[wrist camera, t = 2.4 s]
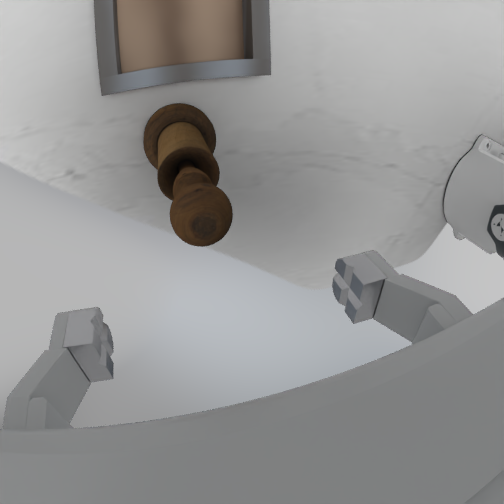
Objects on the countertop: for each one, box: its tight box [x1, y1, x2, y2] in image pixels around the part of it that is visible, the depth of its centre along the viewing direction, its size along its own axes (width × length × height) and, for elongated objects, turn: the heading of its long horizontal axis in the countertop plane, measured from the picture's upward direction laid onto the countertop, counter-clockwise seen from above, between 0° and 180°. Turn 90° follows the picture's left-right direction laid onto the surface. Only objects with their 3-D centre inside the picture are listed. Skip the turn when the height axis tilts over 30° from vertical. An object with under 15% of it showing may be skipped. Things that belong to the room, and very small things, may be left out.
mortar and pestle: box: [144, 103, 233, 246], centre depth 21 cm, size 7×6×18 cm
